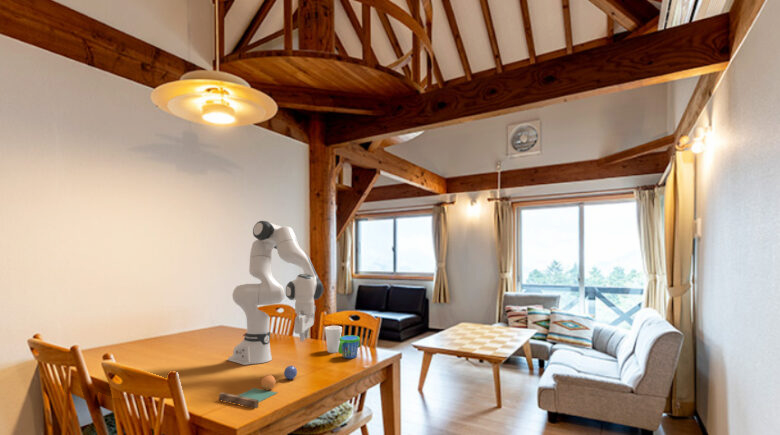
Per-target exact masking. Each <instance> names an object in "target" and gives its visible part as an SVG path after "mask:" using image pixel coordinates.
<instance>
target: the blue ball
mask: <svg viewBox="0 0 780 435" xmlns="http://www.w3.org/2000/svg"><path fill="white" fill-rule="evenodd" d="M297 374H298V369H297V367H295V366H293V365H289V366H286V367H285V369H284V370H283V375H284V378H286V379H287V380H293V379H295V378H296V377H297Z"/></svg>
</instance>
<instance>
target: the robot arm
mask: <svg viewBox="0 0 780 435" xmlns="http://www.w3.org/2000/svg"><path fill="white" fill-rule="evenodd" d="M252 234H253V237H254V238H255V239H256V240H254V241H253V242H252V245H251V248H250V255H249V267H248V268H249V269H248V271H249V274H250V275H251V277H253V278H255V279H257V280H259V281H260V282H261V283H244V284H240V285H236V287H235V288H234V290H233V292H232V300H233V302H234V303H235V305H237V306H239V307H240V308H241V309H242V311H243V313H244V314H245V318H246V332H245V333H242V337H244V338H243V340H242V341H241V342H239V344H237V345H235V347H234V349H233V354H232V355H231V356H229V357H228V358H227V361H230V362H233V363H237V364H239V365H243V366H248V365H257V364H263V363H267V362H270V361H271V360H272V359H273V358H272V351H271V346H270V345H271V344H270V339H271V331H270V324H271V323H270V321H271V320H270V316H269V314H268V313H266V312H265V311H263V310H260V309H259V308H258V306H261V305H263V306H264V305H266V306H267V305H268V306H270V305H275V304H280V303H281V302H283V300H284V298H285V296H286V297H287V299H289V300H290V301H295V303H294V313H295V314H296V316H295V318H294V328H293V329H294V334H296V335H297V334H298V335H299V341H300V342H304V341H305V339H308V338H309V333H310V328H311V327H312V326H314V323H315V312H316V309H317V306H316V305H315V300H316V301H317V300H319V299H320V298H321V297H322V295H323V294H324V290H325V289H324V284H323V283H322V280H321V279H320V277H319V276H318V273H317V272H316V270H315V267H314V265H313V263H312V261H311V258H310V256H309V255H308V254H307V253H306V252H304V250H302V248H301V246H300V245H299V242H298V238H297V235H296V233H295V231H294V229H293V228H292V227H290V226H288V225H286V226H285V225H284V226H281V225H279V224H277V223H272V222H269V221H268V220H259V221H257V222H256V223H255V224H254V226H253V228H252ZM273 249H275V250H277V254H278V257H279V258H280V259H281V260H282V261H283V262H286V263H288V264H293V265H295V266H298V267H299V268H301V269H302V271H303V272H304V273H299V274H298V275H297V276H296V278H295V279H294V280H290V281H289V282H288V283H287V284H286V286H285V288H284V286H283V285H282V284H281V283H279V282H278V281H277V280H276V279H275V277H274V275H273V272H272V250H273Z"/></svg>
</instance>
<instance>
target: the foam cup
mask: <svg viewBox="0 0 780 435" xmlns="http://www.w3.org/2000/svg"><path fill="white" fill-rule="evenodd" d="M324 332H325V341H326V350H327V353H330V354H332V353H333V354H335V353H336V354H337V353H339V352H338V349H339V344H340V337H342V332H343V327H342V326H340V325H330V326H325V327H324Z"/></svg>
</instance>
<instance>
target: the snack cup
mask: <svg viewBox="0 0 780 435" xmlns="http://www.w3.org/2000/svg"><path fill="white" fill-rule="evenodd" d="M360 347H361V338H360V336H359V335H353V334H352V335H350V334H349V335H348V334H347V335H343V336H342V335H341V337H340V344H339V349H338V352H337V353H338V354H341V356H342V358H344V359H355V358H356V357H357V356H358V350H359V348H360Z"/></svg>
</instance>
